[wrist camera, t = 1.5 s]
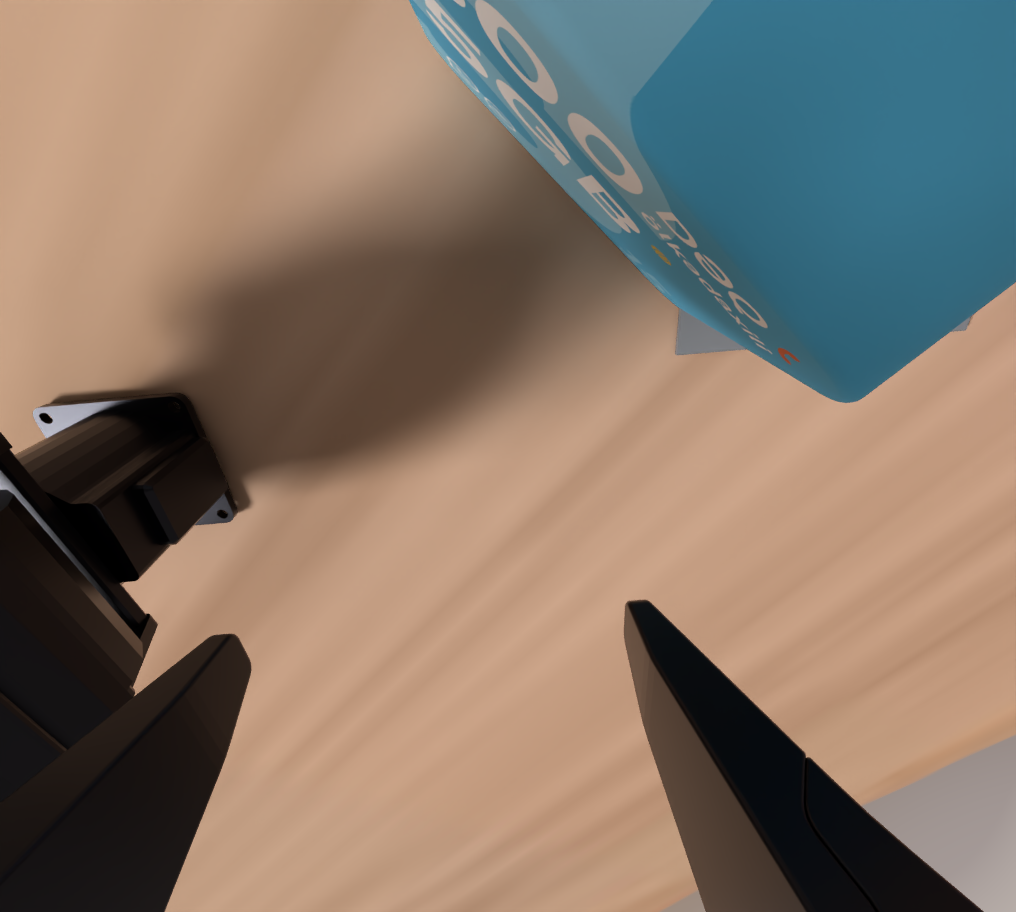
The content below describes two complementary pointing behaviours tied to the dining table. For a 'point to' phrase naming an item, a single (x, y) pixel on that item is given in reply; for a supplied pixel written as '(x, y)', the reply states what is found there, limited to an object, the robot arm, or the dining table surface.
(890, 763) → the dining table surface
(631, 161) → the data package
